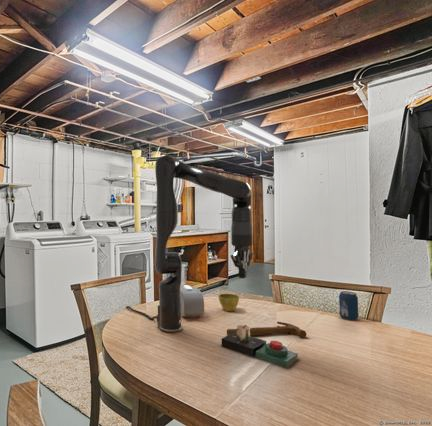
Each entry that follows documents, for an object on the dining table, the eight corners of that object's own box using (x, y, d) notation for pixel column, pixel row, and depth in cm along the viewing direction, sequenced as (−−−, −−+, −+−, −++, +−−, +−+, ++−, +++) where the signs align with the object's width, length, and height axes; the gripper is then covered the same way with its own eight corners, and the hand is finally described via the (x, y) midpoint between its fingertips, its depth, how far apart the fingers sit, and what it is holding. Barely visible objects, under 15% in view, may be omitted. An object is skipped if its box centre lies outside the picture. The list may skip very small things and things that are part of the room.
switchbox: (255, 357, 104) (255, 346, 104) (267, 350, 110) (267, 339, 110) (287, 368, 96) (286, 356, 96) (297, 359, 102) (297, 347, 102)
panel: (221, 346, 114) (221, 338, 114) (235, 339, 120) (235, 331, 120) (253, 357, 104) (253, 348, 104) (266, 349, 111) (266, 340, 111)
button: (268, 347, 103) (268, 342, 103) (273, 344, 106) (272, 339, 106) (279, 351, 101) (279, 345, 101) (284, 348, 103) (283, 342, 103)
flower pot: (214, 307, 161) (214, 294, 161) (231, 306, 164) (231, 292, 164) (226, 313, 151) (225, 299, 151) (243, 311, 154) (243, 297, 154)
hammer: (234, 341, 117) (306, 337, 120) (233, 333, 118) (306, 329, 120) (220, 330, 129) (287, 327, 132) (220, 323, 129) (286, 320, 132)
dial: (246, 343, 109) (246, 329, 109) (235, 339, 112) (234, 326, 112) (252, 339, 112) (251, 326, 112) (240, 336, 115) (240, 323, 115)
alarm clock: (204, 320, 142) (204, 291, 142) (184, 320, 142) (183, 292, 142) (193, 307, 163) (193, 282, 163) (175, 307, 163) (175, 282, 163)
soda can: (357, 317, 142) (356, 291, 142) (359, 322, 136) (358, 295, 136) (338, 315, 146) (338, 290, 146) (340, 319, 140) (339, 293, 140)
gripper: (242, 234, 111) (243, 282, 110) (259, 232, 119) (260, 276, 119) (223, 233, 116) (224, 278, 116) (240, 232, 125) (241, 274, 125)
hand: (242, 277), depth 118 cm, fingers closed
